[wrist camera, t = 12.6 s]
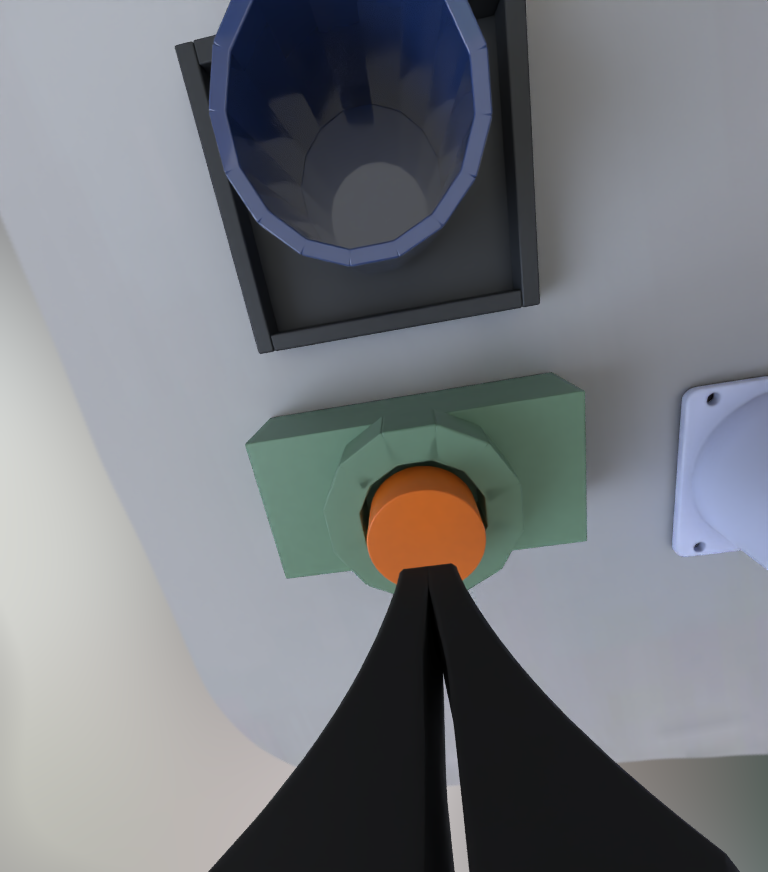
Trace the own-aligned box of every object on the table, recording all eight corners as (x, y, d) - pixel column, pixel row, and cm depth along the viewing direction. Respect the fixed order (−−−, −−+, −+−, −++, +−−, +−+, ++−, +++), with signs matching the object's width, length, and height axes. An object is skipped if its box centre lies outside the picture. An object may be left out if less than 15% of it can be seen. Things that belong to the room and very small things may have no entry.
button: (470, 457, 13) (480, 481, 12) (481, 551, 15) (491, 584, 13) (361, 473, 14) (356, 499, 12) (380, 563, 15) (378, 598, 13)
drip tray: (507, -2, 13) (524, -45, 11) (525, 302, 16) (540, 304, 14) (200, 73, 14) (172, 44, 12) (272, 347, 17) (258, 354, 15)
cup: (437, 82, 13) (476, -119, 7) (457, 259, 15) (502, 237, 8) (278, 118, 14) (169, -35, 7) (315, 285, 15) (254, 285, 9)
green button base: (552, 365, 17) (611, 397, 12) (557, 505, 19) (610, 577, 14) (268, 412, 18) (222, 457, 13) (304, 539, 20) (275, 617, 15)
